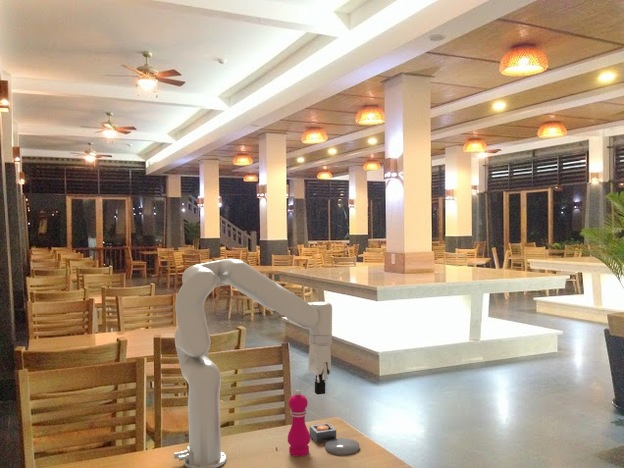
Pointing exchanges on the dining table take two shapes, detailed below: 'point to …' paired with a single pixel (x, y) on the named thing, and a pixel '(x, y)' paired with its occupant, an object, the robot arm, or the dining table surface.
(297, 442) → the pepper mill
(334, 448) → the pad
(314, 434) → the button housing
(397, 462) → the dining table surface
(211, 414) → the robot arm
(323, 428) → the button
